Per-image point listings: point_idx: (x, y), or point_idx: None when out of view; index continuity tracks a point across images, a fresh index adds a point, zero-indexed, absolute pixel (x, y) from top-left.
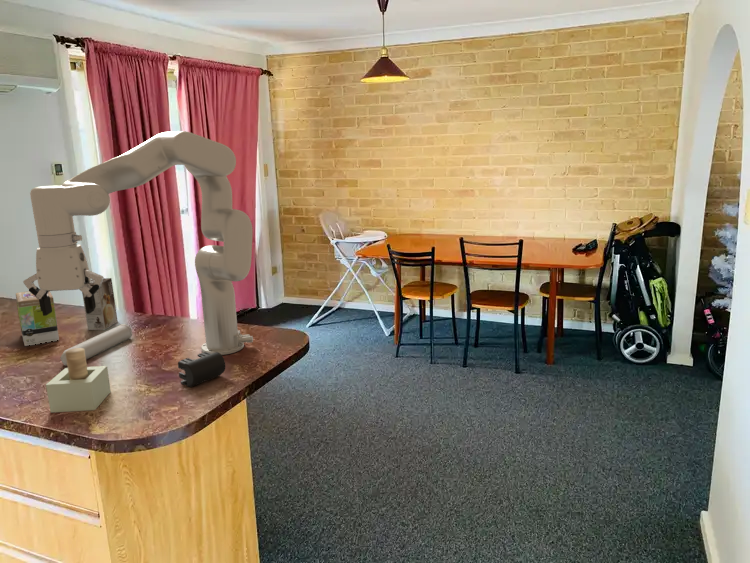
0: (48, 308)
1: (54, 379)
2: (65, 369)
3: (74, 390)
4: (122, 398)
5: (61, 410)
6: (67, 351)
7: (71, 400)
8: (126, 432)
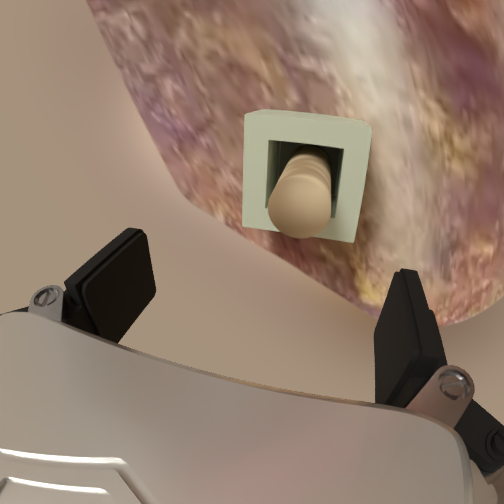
0: (135, 281)
1: (249, 197)
2: (250, 126)
3: None
4: (398, 168)
5: None
6: (272, 207)
7: None
8: None
